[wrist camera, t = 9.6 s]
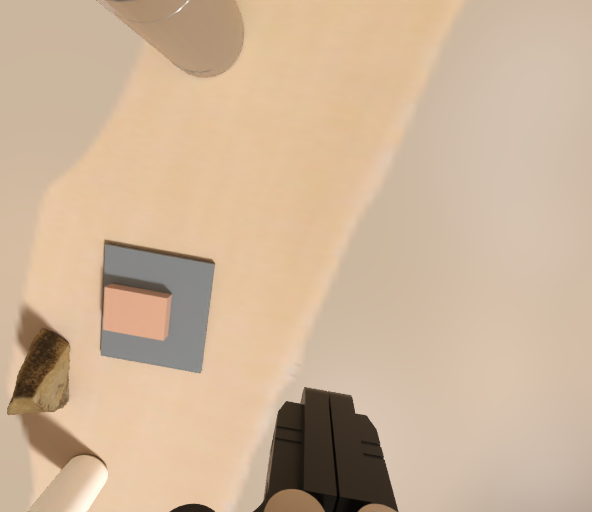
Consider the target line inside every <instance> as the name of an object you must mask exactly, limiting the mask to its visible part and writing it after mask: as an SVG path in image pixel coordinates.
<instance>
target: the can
mask: <svg viewBox="0 0 592 512" xmlns="http://www.w3.org/2000/svg"><path fill="white" fill-rule="evenodd" d="M107 477H108V473H107V468H106V466H105V464H104V463H103V462H102V461H101V460H100V459H98V458H97V457H94V456H91V455H80V456H76V457H74V458H72V459H71V460H70V461H69V462H68V463H67V464H66V466H65V467H64V468H63V469H62V470H61V472H60V473H59V474H58V475H57V476H56V478H55V479H54V480H53V481H52V482H51V484H50V485H49V486H48V487H47V488H46V490H45V491H44V492H43V493H42V494H41V496H40V497H39V498H38V499H37V500H36V502H35V503H34V504H33V505H32V507H31V508H30V509H29V510H28V511H27V512H87V510H88V509H89V507H90V506H91V504H92V503H93V501H94V500H95V498H96V496H97V495H98V493H99V492H100V490H101V489H102V487H103V486H104V484H105V482H106V480H107Z"/></svg>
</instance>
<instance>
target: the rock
mask: <svg viewBox="0 0 592 512" xmlns="http://www.w3.org/2000/svg"><path fill="white" fill-rule="evenodd" d="M69 352H70V346H69V344H68V343H67V342H66V341H65V340H63V339H62V338H61V337H59V336H58V335H57V334H55V333H53V332H50V331H47V330H45V329H42V330H41V331H40V334H38V335H37V336H36V337H35V338H34V341H33V343H32V344H31V347H30V349H29V353H28V354H27V356H26V358H25V361H24V363H23V365H22V366H21V369H20V371H19V374H18V376H17V381H16V386H15V390H14V393H13V397H12V399H11V401H10V403H9V406H8V408H7V409H8V411H7V412H8V413H7V414H8V415H15V414H26V413H40V412H55V411H56V410H57V409H60V408H63V407H64V405H66V404H67V402H68V400H69V389H68V384H69V383H68V382H69V378H68V371H69V368H70V367H69V362H70V359H69Z"/></svg>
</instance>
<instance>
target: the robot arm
mask: <svg viewBox="0 0 592 512" xmlns="http://www.w3.org/2000/svg"><path fill="white" fill-rule="evenodd" d="M96 1H98V2H99V3H100V4H101V5H103V6H104V7H105V8H106V9H108V10H109V11H110V12H112V13H113V14H114V15H115V16H116V17H117V18H119V19H120V20H121V21H122V22H124V23H125V24H126V25H127V26H128V27H130V28H131V29H132V30H134V31H135V32H136V33H137V34H138V35H140V36H141V37H142V38H143V39H144V40H146V41H147V42H148V43H149V44H150V45H152V46H153V47H154V48H155V49H157V50H158V51H159V52H160V53H162V54H163V55H164V56H165V57H166V58H168V59H169V60H170V61H171V62H172V63H173V64H174V65H176V66H177V67H179V68H180V69H181V70H183V71H185V72H186V73H188V74H190V75H194V76H197V77H212V76H216V75H218V74H220V73H223V72H224V71H225V70H227V69H228V68H229V67H230V66H231V65H232V64H233V63H234V62H235V60H236V59H237V57H238V55H239V53H240V51H241V47H242V44H243V37H244V28H243V21H242V17H241V13H240V11H239V9H238V6H237V4H236V2H235V0H96ZM383 458H384V456H383V452H382V449H381V447H380V441H379V437H378V434H377V430H376V428H375V427H374V425H373V424H372V423H371V422H370V420H369V418H368V417H367V416H366V415H360V414H355V410H354V404H353V399H352V397H351V395H346V394H340V393H335V392H329V391H328V392H327V391H323V390H317V389H312V388H306V387H304V390H303V394H302V399H301V403H300V404H299V403H293V402H288V401H286V402H285V403H284V405H283V406H282V407H281V409H280V410H279V411H278V415H277V420H276V425H275V431H274V436H273V440H272V445H271V451H270V457H269V464H268V472H267V480H266V487H265V494H264V501H263V503H262V504H261V505H260V506H259V507H258V508H257V509H256V510H255V511H253V512H398V509H397V505H396V501H395V497H394V494H393V490H392V487H391V482H390V479H389V475H388V471H387V468H386V464H385V460H384V459H383ZM170 512H215V511H214V510H212V509H211V508H209V507H207V506H204V505H200V504H186V505H183V506H180V507H177V508H175V509H173V510H172V511H170Z"/></svg>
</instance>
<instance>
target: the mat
mask: <svg viewBox="0 0 592 512" xmlns="http://www.w3.org/2000/svg"><path fill="white" fill-rule="evenodd" d="M214 267H215V263H211V262H205V261H200V260H194V259H189V258H184V257H178V256H173V255H167V254H162V253H156V252H151V251H145V250H140V249H135V248H129V247H124V246H118V245H113V244H105V260H104V285H103V311H102V336H101V355H102V356H107V357H113V358H118V359H124V360H129V361H135V362H140V363H146V364H151V365H157V366H163V367H168V368H174V369H179V370H185V371H190V372H196V373H201V371H202V363H203V355H204V347H205V339H206V331H207V323H208V315H209V307H210V299H211V291H212V283H213V275H214ZM111 283H113V284H118V285H124V286H129V287H135V288H140V289H146V290H151V291H157V292H162V293H168V294H172V300H171V310H170V321H169V332H168V336H167V337H166V338H165V340H164V341H162V340H156V339H151V338H145V337H140V336H134V335H129V334H123V333H117V332H112V331H106V330H103V315H104V290H105V287H106V286H107V285H109V284H111Z"/></svg>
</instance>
